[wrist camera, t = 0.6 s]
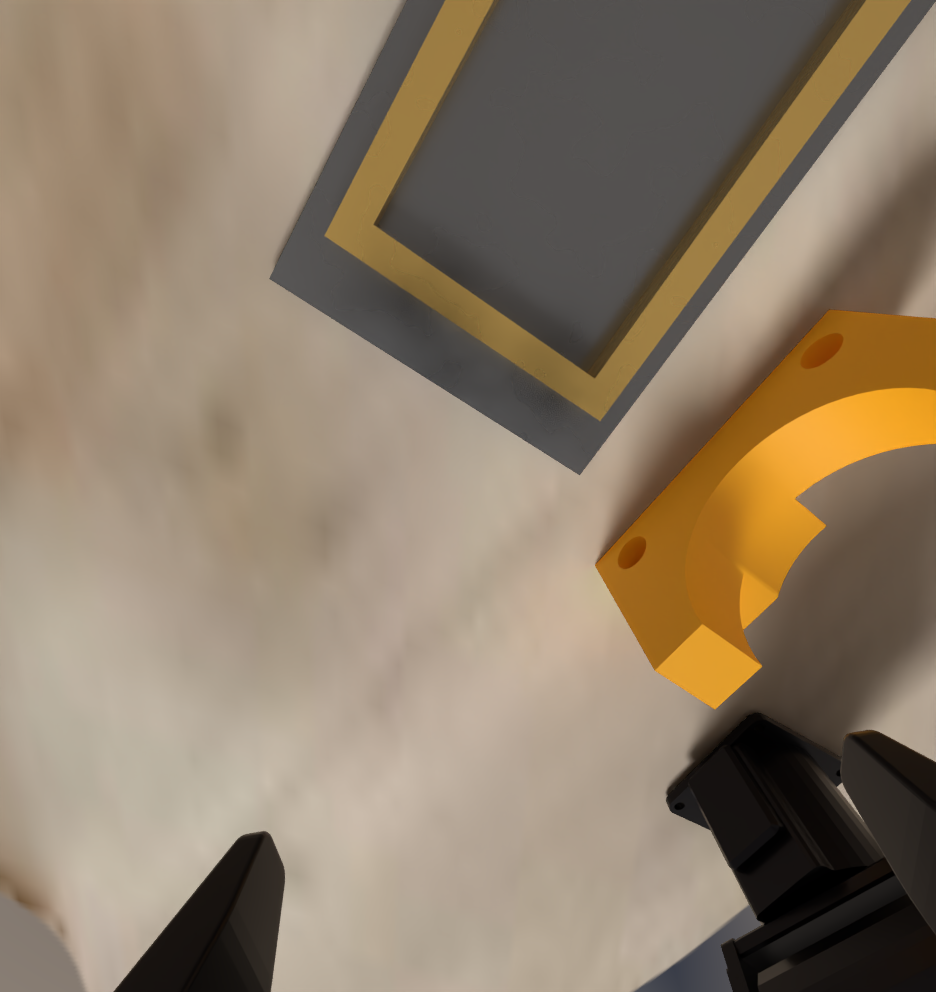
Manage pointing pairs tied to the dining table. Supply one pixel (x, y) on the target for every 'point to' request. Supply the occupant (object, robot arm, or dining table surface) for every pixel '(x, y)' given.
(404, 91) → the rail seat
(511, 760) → the dining table surface
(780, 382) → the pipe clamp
